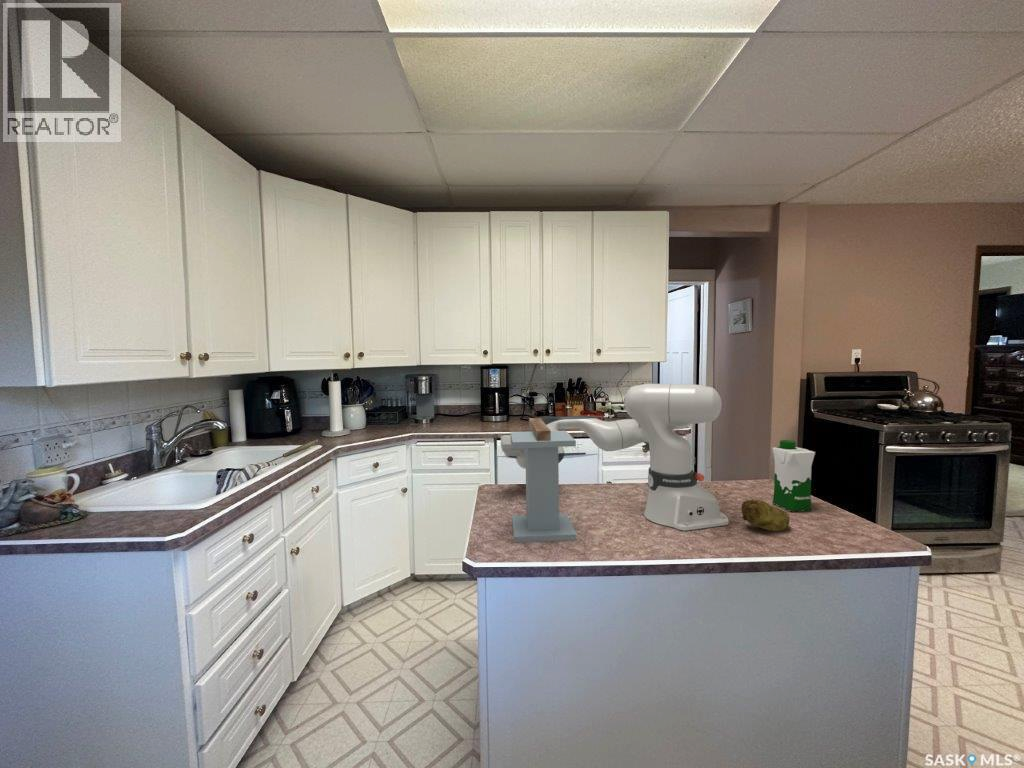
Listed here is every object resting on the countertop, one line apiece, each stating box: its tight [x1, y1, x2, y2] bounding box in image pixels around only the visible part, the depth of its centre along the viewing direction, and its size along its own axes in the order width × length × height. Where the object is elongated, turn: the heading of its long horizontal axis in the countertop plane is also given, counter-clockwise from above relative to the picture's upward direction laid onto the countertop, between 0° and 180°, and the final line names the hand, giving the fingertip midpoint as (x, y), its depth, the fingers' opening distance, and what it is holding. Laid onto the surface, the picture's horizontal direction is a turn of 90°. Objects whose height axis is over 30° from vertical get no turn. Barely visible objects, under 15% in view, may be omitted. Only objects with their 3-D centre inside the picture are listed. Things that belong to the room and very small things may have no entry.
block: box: [528, 417, 551, 441], centre depth 113 cm, size 4×22×2 cm, turn 3°
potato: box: [740, 498, 791, 532], centre depth 108 cm, size 8×13×8 cm, turn 82°
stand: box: [509, 430, 578, 543], centre depth 109 cm, size 16×14×26 cm
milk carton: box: [772, 439, 816, 512], centre depth 122 cm, size 9×9×20 cm
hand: (532, 434), depth 129 cm, fingers open, 8 cm apart
